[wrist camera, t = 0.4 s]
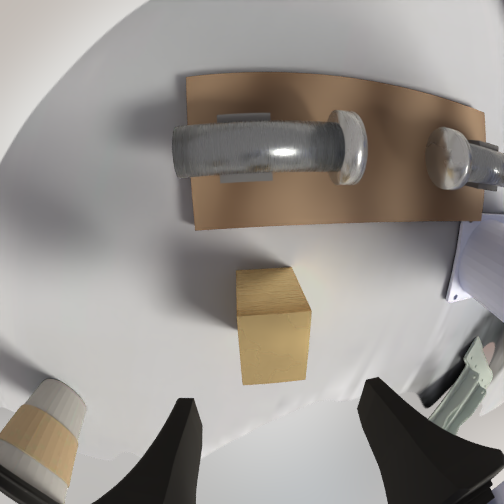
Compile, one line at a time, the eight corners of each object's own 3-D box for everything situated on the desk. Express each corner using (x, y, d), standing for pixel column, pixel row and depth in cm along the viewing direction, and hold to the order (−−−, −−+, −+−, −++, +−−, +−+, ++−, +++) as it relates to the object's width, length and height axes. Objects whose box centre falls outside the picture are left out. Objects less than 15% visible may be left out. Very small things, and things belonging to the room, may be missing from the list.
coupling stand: (476, 113, 15) (527, 113, 9) (473, 218, 18) (521, 239, 12) (188, 81, 14) (166, 48, 9) (197, 226, 17) (180, 261, 12)
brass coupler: (236, 270, 18) (236, 316, 13) (291, 266, 18) (311, 310, 13) (240, 330, 20) (242, 385, 15) (290, 327, 20) (305, 379, 15)
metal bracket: (448, 453, 24) (418, 441, 20) (426, 435, 30) (389, 415, 26) (504, 373, 25) (492, 332, 21) (479, 361, 31) (457, 318, 27)
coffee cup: (28, 390, 22) (-19, 477, 8) (34, 350, 20) (-36, 457, 6) (91, 432, 25) (60, 527, 11) (111, 402, 22) (70, 527, 8)
